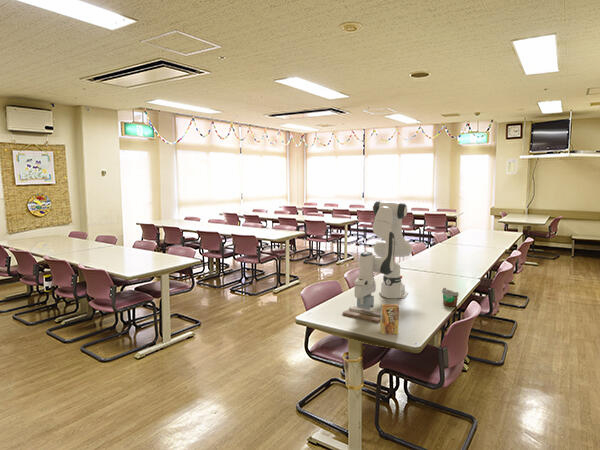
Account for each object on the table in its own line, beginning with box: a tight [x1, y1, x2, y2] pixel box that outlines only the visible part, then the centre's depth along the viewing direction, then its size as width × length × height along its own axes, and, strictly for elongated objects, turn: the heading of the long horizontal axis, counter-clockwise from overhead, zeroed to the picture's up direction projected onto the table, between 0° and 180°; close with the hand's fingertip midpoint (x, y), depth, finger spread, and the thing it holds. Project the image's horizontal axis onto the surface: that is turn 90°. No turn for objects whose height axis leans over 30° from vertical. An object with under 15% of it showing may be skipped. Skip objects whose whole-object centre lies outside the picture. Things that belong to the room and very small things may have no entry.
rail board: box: [342, 306, 381, 324], centre depth 234 cm, size 14×23×3 cm, turn 52°
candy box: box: [379, 303, 400, 335], centre depth 207 cm, size 9×4×15 cm, turn 93°
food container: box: [441, 287, 460, 308], centre depth 253 cm, size 12×6×10 cm, turn 21°
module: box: [356, 294, 375, 310], centre depth 233 cm, size 6×8×7 cm
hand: (365, 302), depth 233 cm, fingers closed on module, 6 cm apart
